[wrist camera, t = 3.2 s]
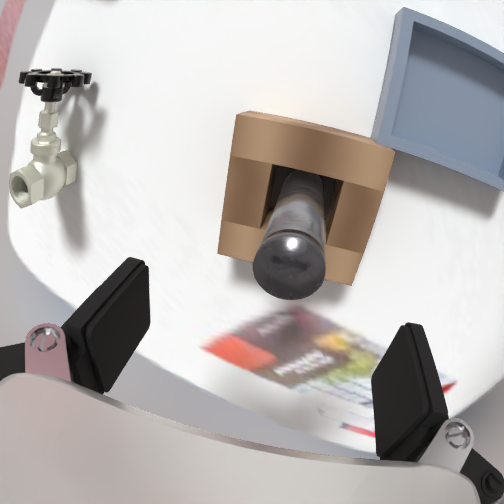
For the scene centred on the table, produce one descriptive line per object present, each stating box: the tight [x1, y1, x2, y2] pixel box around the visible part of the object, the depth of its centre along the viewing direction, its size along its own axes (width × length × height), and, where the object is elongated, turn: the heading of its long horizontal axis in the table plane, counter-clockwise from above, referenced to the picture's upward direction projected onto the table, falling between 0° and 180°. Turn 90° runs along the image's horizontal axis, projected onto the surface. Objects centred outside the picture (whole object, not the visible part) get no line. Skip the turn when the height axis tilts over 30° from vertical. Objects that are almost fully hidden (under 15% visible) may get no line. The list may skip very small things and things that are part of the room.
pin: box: [253, 169, 326, 300], centre depth 19 cm, size 3×3×12 cm
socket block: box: [217, 111, 395, 286], centre depth 22 cm, size 10×10×4 cm
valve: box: [9, 68, 92, 208], centre depth 22 cm, size 7×7×12 cm
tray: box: [371, 7, 504, 191], centre depth 17 cm, size 12×10×2 cm
